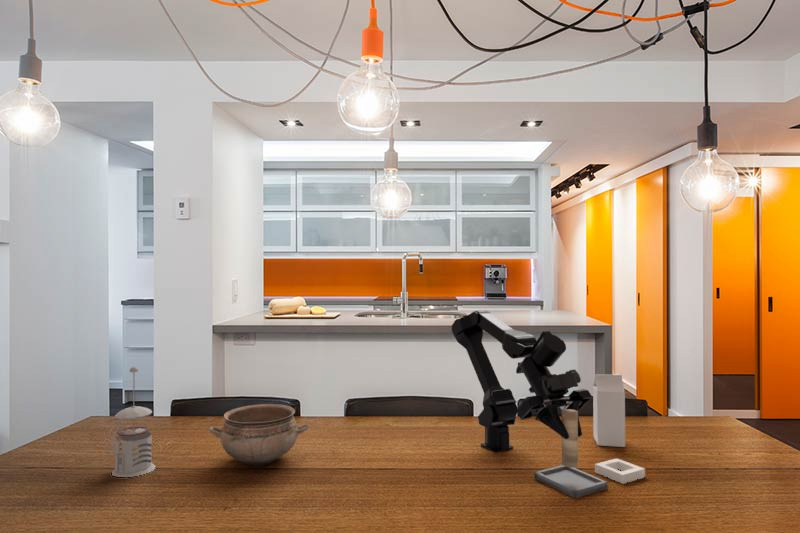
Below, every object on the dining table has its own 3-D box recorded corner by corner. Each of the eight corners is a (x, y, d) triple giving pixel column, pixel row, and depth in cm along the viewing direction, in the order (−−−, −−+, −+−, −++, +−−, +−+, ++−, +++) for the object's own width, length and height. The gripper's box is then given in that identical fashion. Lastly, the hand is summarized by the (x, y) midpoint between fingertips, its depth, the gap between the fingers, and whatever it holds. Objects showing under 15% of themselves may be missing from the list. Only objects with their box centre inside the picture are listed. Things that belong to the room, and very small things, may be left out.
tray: (534, 478, 119) (534, 472, 119) (566, 470, 124) (566, 464, 124) (574, 498, 108) (574, 491, 108) (607, 488, 113) (607, 481, 113)
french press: (165, 465, 128) (165, 364, 128) (126, 483, 117) (126, 373, 117) (134, 461, 131) (134, 362, 131) (93, 478, 120) (94, 370, 120)
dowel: (559, 461, 118) (559, 409, 118) (574, 461, 118) (574, 409, 118) (564, 467, 114) (564, 413, 115) (580, 467, 115) (580, 413, 115)
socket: (595, 472, 123) (594, 463, 123) (616, 466, 126) (616, 458, 126) (622, 483, 116) (622, 474, 116) (645, 477, 119) (645, 468, 120)
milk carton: (625, 447, 140) (624, 377, 140) (597, 446, 141) (597, 376, 142) (619, 439, 147) (619, 372, 147) (593, 437, 148) (592, 371, 149)
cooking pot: (312, 446, 141) (312, 402, 141) (306, 473, 122) (306, 421, 123) (218, 450, 139) (218, 404, 139) (198, 477, 120) (198, 425, 120)
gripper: (525, 361, 116) (560, 423, 106) (586, 355, 124) (624, 412, 114) (503, 389, 123) (535, 450, 113) (562, 381, 131) (596, 437, 121)
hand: (574, 437), depth 115 cm, fingers closed on dowel, 3 cm apart
